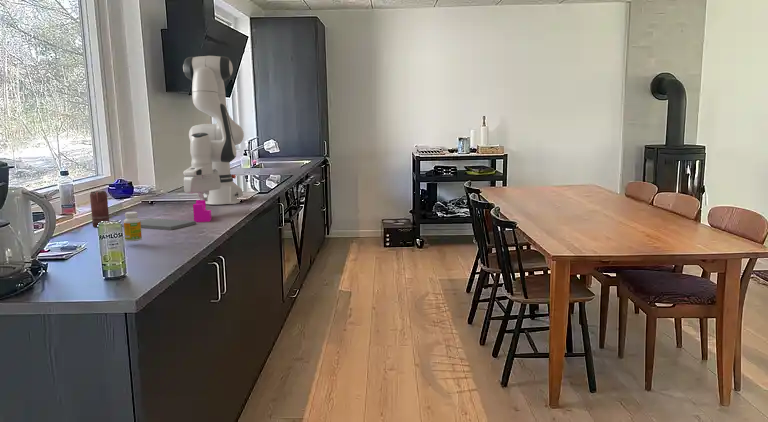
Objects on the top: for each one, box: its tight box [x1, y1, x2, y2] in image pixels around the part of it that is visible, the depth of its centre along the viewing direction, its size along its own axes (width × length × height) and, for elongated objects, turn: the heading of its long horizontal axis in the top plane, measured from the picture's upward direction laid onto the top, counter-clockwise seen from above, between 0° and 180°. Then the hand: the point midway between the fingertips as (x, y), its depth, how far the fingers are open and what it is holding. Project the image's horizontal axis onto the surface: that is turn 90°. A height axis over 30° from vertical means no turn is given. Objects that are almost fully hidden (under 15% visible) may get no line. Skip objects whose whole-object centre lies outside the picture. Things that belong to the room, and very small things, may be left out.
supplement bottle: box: [123, 211, 143, 242], centre depth 200 cm, size 5×5×10 cm
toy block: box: [192, 199, 213, 223], centre depth 244 cm, size 15×6×8 cm, turn 13°
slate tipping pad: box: [140, 217, 197, 231], centre depth 231 cm, size 14×24×1 cm, turn 67°
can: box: [89, 190, 110, 228], centre depth 230 cm, size 6×6×14 cm
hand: (204, 201), depth 254 cm, fingers closed
